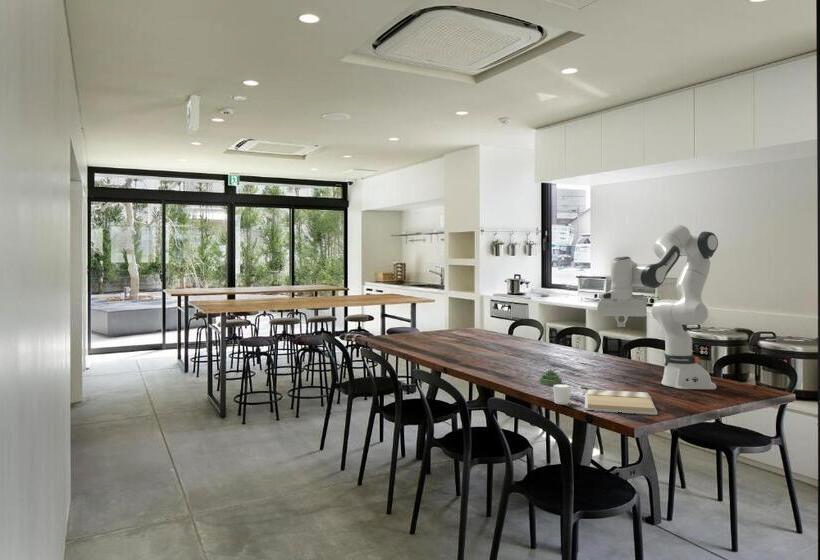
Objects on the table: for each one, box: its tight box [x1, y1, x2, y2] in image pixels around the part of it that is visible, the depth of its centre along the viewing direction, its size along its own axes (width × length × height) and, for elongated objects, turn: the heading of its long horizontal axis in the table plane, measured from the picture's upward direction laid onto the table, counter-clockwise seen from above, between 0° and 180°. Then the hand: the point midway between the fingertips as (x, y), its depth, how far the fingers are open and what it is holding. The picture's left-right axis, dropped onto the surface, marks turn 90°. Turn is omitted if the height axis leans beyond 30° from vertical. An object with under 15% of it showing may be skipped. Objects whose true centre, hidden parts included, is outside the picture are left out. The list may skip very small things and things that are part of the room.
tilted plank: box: [586, 389, 651, 399], centre depth 238 cm, size 24×9×2 cm, turn 73°
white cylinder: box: [552, 383, 571, 405], centre depth 235 cm, size 7×7×7 cm
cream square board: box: [584, 392, 659, 416], centre depth 231 cm, size 26×26×2 cm
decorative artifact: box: [539, 368, 563, 387], centre depth 271 cm, size 10×7×10 cm
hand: (621, 326), depth 248 cm, fingers closed
